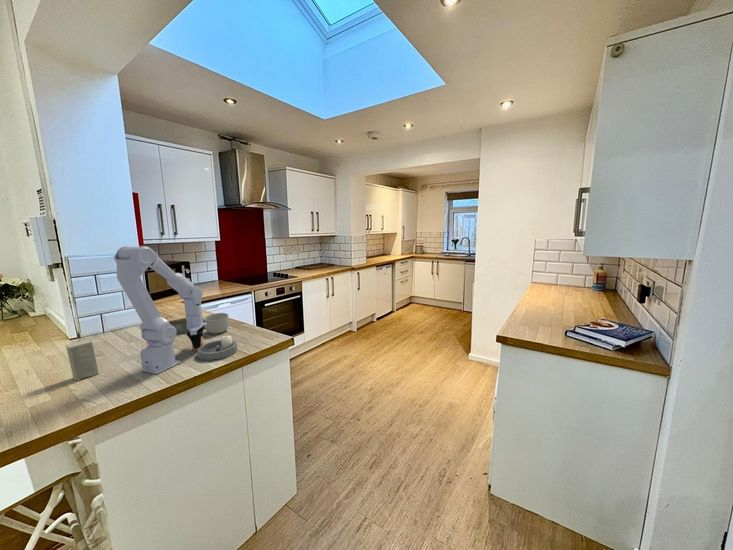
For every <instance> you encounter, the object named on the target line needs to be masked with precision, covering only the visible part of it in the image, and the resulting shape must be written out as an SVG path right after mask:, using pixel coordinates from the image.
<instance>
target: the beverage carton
mask: <svg viewBox="0 0 733 550" xmlns="http://www.w3.org/2000/svg"><path fill="white" fill-rule="evenodd" d="M168 321H169V323H170V324H171V325H172V326H174V327H175V329H176V336H180V335H183V334H184V333H185V334H187V332H190V331H189V330H188V329H187V321H186V317H183V318H178V319H174V320H168ZM203 323H204V321H203ZM204 330H206V329H205V328H204ZM179 334H180V335H179Z"/></svg>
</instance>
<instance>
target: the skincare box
mask: <svg viewBox="0 0 733 550" xmlns="http://www.w3.org/2000/svg"><path fill="white" fill-rule="evenodd" d="M65 347H66V348H65V349H66V352H67V355H68V360H69V365H70V370H71V373H72V379H73V380H74V381H75V380H78V379H82V378H85V377H88V378H90V377H89V376H91V377H94V376H97V375H99V374H100V373H99V369H98V363H97V359H96V355H95V350H94V344H93V341H92V339H91V338H89V339H88V338H87V339H84V340H80V341H76V342H72V343H68V344H65ZM93 375H94V376H93ZM85 379H86V378H85ZM82 380H83V379H82ZM78 381H79V380H78Z"/></svg>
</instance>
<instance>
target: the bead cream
mask: <svg viewBox="0 0 733 550" xmlns="http://www.w3.org/2000/svg"><path fill="white" fill-rule="evenodd" d="M220 340H221V345H222V350H225V349H228V348H230V347H231V346H232V345H233V344H232V340H233V337H232V335H224V336H221V337H220Z"/></svg>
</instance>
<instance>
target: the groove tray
mask: <svg viewBox="0 0 733 550" xmlns="http://www.w3.org/2000/svg"><path fill="white" fill-rule="evenodd" d="M232 344H233V345H232V346H231V347H230V348H228V349H225V350H222V345H221V339H217V340H213V341H209V342H206V343H203V345H202V346H200V347H199V348H198V350H197V351H196V353H197V356H198V359H199V360H202V361H205V360H211V361H216V360H215V359H218V360H221V359H220V358H223V359H225V358H224V357H226V358H228V357H227V356H229V355H231V354H233V353H234V354H236V353H237V352H238V342H237V341H236V340H234V339H232ZM236 351H237V352H236ZM235 352H236V353H235ZM234 354H233V355H234ZM231 356H232V355H231ZM229 357H230V356H229Z"/></svg>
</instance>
